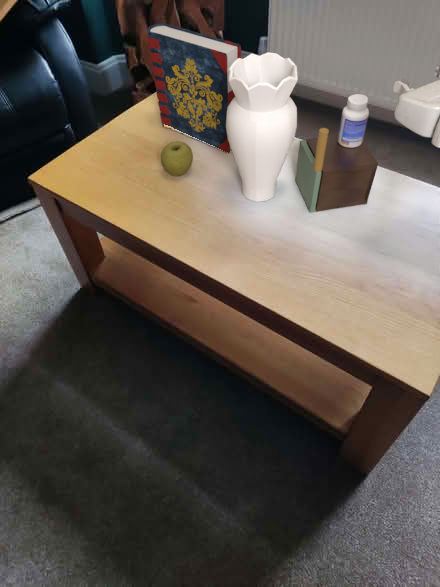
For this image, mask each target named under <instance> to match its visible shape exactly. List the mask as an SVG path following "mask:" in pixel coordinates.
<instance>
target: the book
mask: <svg viewBox="0 0 440 587" xmlns="http://www.w3.org/2000/svg"><path fill="white" fill-rule="evenodd" d="M146 32H147V33H146V38H147V44H148V47H149V49H148V50H149V51H148V52H149V57H150V61H151V68H152V73H153V75H154V76H153V80H154V86H155V88H156V89H155V92H156V97H157V100H158V101H157V104H158V110H159V116H160V121H161V123H162V125H163V124H165V125H168V126H171V127H173V128H174V129H177V130H179V131H181V132H183V133H186V134H188V135H190V136H192V137H195V138H197V139H199V140H201V141H204V142H206V143H208V144H210V145H213V146H215V147H217V148H219V149H221V150H223V151H222V152H224V151H225V152H224V153H227V152H228V153H227V154H230V153H231V147H230V144H229V141H228V137H227V130H226V118H227V108H228V106H229V104H230V103H231V101H232V100H233V98H234V97H235V94H234V92H233V90H232V87H231V85H230V83H229V74H228V72H227V71H228V70H229V68H230V67H231V65H232V64H233V62H234V61H236V60H237V59H238V58H241V59H242V47H241V44H240V43H236V42H234V41H233V42H232V41H230V40H227V39H222V38H218V37H215V36H211V35H207V34H204V33H200V32H196V31H193V30H190V29H186V28H183V27H178V26H176V25H172V24H169V23H167V22H161V23H160V22H159V23H154V24H151V25H149V26H148V27H147V28H146ZM210 145H209V146H210ZM215 147H214V148H215ZM217 148H216V149H217ZM219 149H218V150H219ZM221 150H220V151H221ZM229 152H230V153H229Z"/></svg>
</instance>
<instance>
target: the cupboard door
mask: <svg viewBox="0 0 440 587" xmlns="http://www.w3.org/2000/svg"><path fill="white" fill-rule="evenodd" d="M329 130H330V129H328V128H327V127H320V129H318V135H317V138H318V141H317V148H316V154H315V158H314V156H313V155H312V153H311V151H310V149H309V147H308V145H307V143H306V139H301V140H299V143H298V154H297V161H296V171H295V179H294V181H295V183H296V184H297V187H298V189H299V192H300V194H301V195H302V198H303V201H304V202H305V204H306V207H307V208H308V211H309V213H314V212H316V210H315V208H316V202H317V196H318V191H319V185H320V179H321V173H322V172H321V171H322V167H323V161H324V155H325V150H326V144H327V138H328V136H329Z"/></svg>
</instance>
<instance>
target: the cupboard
mask: <svg viewBox="0 0 440 587" xmlns="http://www.w3.org/2000/svg"><path fill="white" fill-rule="evenodd" d="M305 141H306V143H307V145H308V147H309V149H310V151H311V153H312V155H313V156H314V158H315V154H316V148H317V141H318V137H314V138H313V137H312V138H307V139H305ZM378 167H379V162H378V161H377V158H376V157H375V156H374V154H373V153H372V151H371V150H370V149H369V147H368V145H367V144H366V143H365V141H364V140H363V141H362V143H361V145H359V146H357V147H353V148H349V147H344V146H342V145H341V144H339V142H338V134H333V135H328V138H327V144H326V150H325V155H324V161H323V167H322V171H321V172H322V173H321V179H320V185H319V191H318V196H317V202H316V208H315V212H324V211H331V210H336V209H337V210H338V209H343V208H349V207H356V206H363V205H367V204H368V200H369V197H370V194H371V190H372V186H373V185H374V184H373V183H374V180H375V176H376V173H377V170H378Z"/></svg>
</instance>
